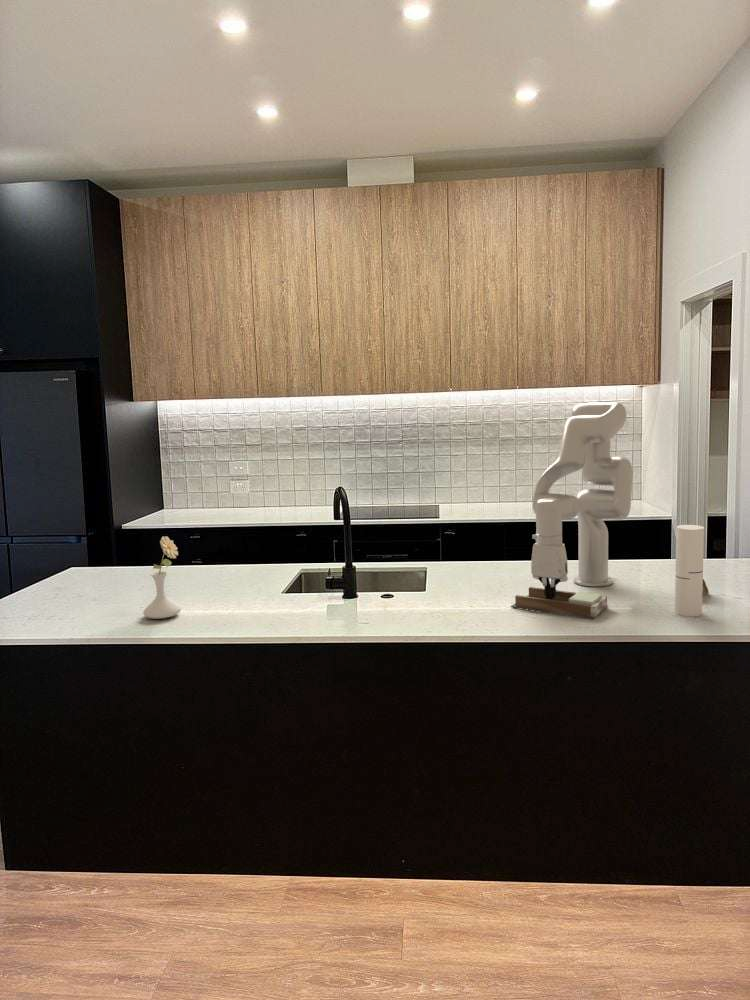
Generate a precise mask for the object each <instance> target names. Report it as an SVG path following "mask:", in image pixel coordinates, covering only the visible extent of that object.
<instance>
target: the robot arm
mask: <svg viewBox="0 0 750 1000" xmlns="http://www.w3.org/2000/svg"><path fill="white" fill-rule="evenodd" d="M626 420H627V409H626V407H625V405H623V404H622V403H621V402H613V401H612V402H584V403H583V402H582V403H578V404H576V405H574V407H572V410H571V417H569V418H568V419H567V420H566V421H565V423H564V426H563V431H562V435H561V439H560V443H559V448H558V451H557V457H556V460H555V461H554V462H553V463H552V464H550V466H549V467H548V468H546V469H545V470H544V472H543V473H542V474H541V476H540V477H539V478H538V480H537V483H536V485H535V487H534V488H535V489H534V493H533V498H532V504H531V505H532V511H533V513H534V514H535V523H536V524H535V527H536V529H535V530H536V531H535V534H532V535H531V536H532V537H531V539H533V540H535V543H533V544H532V545H533V546H532V553H531V562H530V563H531V565H530V568H531V569H530V572H531V575H532V578H533V579H535V580H539V582H540V583H541V584H542V586H543V587H544V588H543V589H544V590H545V596H546V599H550V600H552V599H553V598H554V597H555V596H556V590H557V585H558V584H559V583H565V582H567V581H569V578H568V573H569V570H568V569H569V565H568V557H567V556H568V555H567V551H566V550H567V549H566V546H565V543H563V521H566V520H572V519H575V517H576V518H577V525H578V530H577V531H578V575H576V576H574V577H573V583H575V584H576V585H580V586H584V587H592V588H593V587H595V588H596V587H598V588H599V587H600V588H601V587H607V586H611V585H612V584H613V583H614V581H613V578H612V577H610V576H609V531H608V530H609V529H608V527H607V525H606V523H605V522H604V520H603V519H606V520H613V521H614V520H615V521H620V520H621V521H622V520H625V519H626V518H628V517H629V515H630V512H631V507H632V506H631V504H632V493H633V492H632V491H633V475H634V473H633V465H632V463H631V461H630V459H628V458H626V457H623V456H611V439H613V437H614V436H615V435H616V434H617V433H618V432H619V431H620V430H621V429H622V428H623V427H624V425H625V423H626ZM578 471H581V476H582V481H583V482H585V483H586V484H588V485H593V486H605V487H607V486H608V487H609V486H610V487H613V489H614V490H612V489H603V488H602V489H601V488H600V489H599V488H587V489H583V490H582V489H581V491H579V492H578V493H577V495H573V494H572V495H571V494H566V493H565V494H563V493H553V492H552V493H551V492H550V490H551V488H552V486H553V485H554V484H555V483H556V482H557V481H559V480H560V479H562V478H564V477H566V476H569V475H571V474H574V473H575V472H578ZM549 492H550V493H549Z"/></svg>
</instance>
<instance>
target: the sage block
mask: <svg viewBox="0 0 750 1000" xmlns="http://www.w3.org/2000/svg"><path fill="white" fill-rule="evenodd" d="M575 593H576V594H575V595H573V596H572V597H571V598H569V602H572V603H579V604H587V605H593V604H594V603H595V602H597V601H598V600H599V599H600V598H601V596H602V594H598V593H589V592H582V591H577V592H575Z"/></svg>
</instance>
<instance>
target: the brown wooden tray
mask: <svg viewBox="0 0 750 1000" xmlns="http://www.w3.org/2000/svg"><path fill="white" fill-rule="evenodd" d="M576 593H577V592H572V591H566V590H558V589H556V596H555V597H554V598H553V599H552V600H550V599H546V596H545V590H544V588H542V587H534V586H529V587H528V594H527V595H518V594H516V595H515V597H514V598H515V599H514V601H515V602H514V604H512V605H511V607H514V608H513V609H516V608H522V609H521V610H523V609H528V610H527V611H530V610H534V611H533V612H536V611H540V612H539V613H543V612H545V613H544V614H550V613H551V615H556V616H566V617H571V618H573V617H574V618H578V619H579V618H580V619H586V620H591V621H593V620H595V619H597V618H598V617H599V616H600V615H601V614H602V613H603V612H605V611H606V608H607V607H608V596H605V595H601V598H600V599H599V600H598V601H597V602H595V603H594V604H593V605H587V604H579V603H572V602H569V598H571V597H572V596H573V595H575V594H576ZM511 607H510V608H511ZM607 609H608V608H607Z"/></svg>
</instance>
